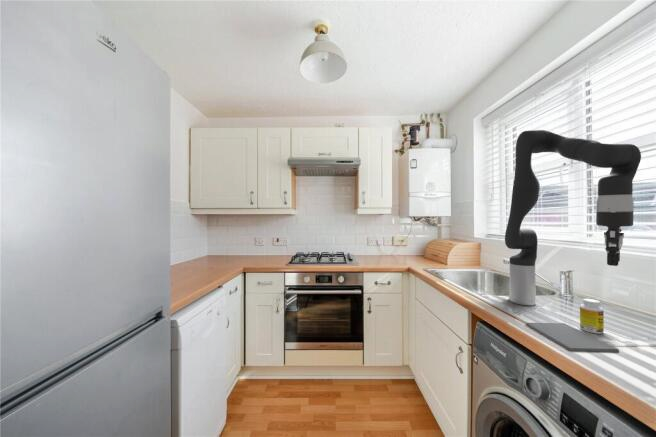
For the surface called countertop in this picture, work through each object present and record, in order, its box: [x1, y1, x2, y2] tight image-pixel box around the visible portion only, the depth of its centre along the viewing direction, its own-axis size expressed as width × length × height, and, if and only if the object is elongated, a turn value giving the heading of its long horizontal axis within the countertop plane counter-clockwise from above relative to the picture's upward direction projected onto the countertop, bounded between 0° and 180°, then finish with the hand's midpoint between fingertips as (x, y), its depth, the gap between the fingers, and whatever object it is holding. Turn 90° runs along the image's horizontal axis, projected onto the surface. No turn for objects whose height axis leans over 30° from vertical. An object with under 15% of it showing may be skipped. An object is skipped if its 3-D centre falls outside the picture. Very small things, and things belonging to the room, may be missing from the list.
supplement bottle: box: [579, 298, 605, 335], centre depth 86 cm, size 6×6×10 cm
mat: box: [525, 322, 620, 353], centre depth 82 cm, size 18×13×1 cm
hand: (613, 263), depth 78 cm, fingers open, 8 cm apart
